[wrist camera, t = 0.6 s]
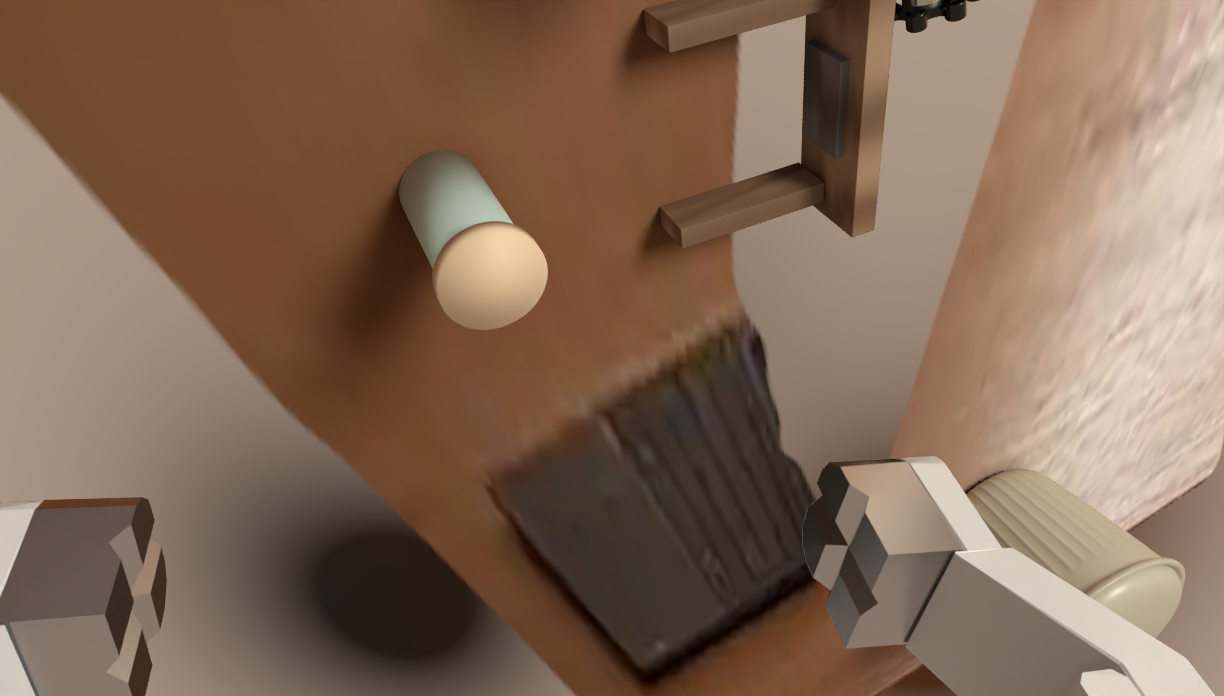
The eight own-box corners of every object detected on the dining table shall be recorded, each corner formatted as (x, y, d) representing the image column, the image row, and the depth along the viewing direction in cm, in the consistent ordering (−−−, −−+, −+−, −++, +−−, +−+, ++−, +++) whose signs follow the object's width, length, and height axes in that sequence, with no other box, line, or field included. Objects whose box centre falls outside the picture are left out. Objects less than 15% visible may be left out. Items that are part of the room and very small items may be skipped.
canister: (942, 589, 104) (1085, 754, 88) (886, 532, 91) (1041, 713, 76) (1070, 486, 101) (1239, 637, 86) (1030, 414, 89) (1218, 575, 74)
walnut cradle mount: (641, -12, 48) (693, 23, 44) (832, -61, 51) (899, -33, 47) (662, 240, 59) (705, 288, 54) (820, 188, 62) (874, 230, 57)
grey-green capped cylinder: (379, 159, 48) (425, 252, 41) (477, 131, 49) (538, 216, 42) (405, 244, 52) (451, 344, 44) (495, 216, 53) (555, 308, 46)
